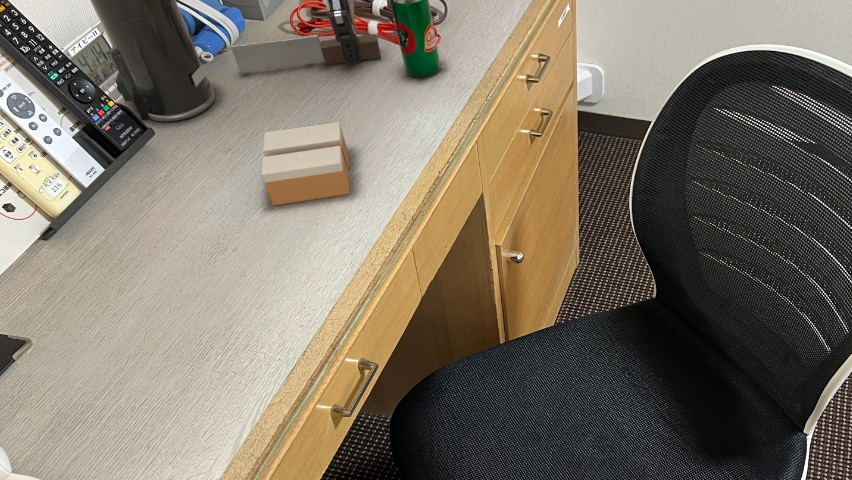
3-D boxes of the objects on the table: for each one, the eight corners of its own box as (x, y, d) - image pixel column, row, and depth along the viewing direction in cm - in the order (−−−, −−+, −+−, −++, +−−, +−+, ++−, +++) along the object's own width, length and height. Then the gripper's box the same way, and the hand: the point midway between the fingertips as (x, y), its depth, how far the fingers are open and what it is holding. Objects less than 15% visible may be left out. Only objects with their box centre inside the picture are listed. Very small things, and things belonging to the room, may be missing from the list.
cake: (274, 181, 101) (262, 150, 98) (275, 163, 103) (264, 132, 100) (349, 170, 102) (339, 139, 99) (348, 152, 105) (339, 121, 101)
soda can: (438, 79, 117) (423, -5, 108) (403, 80, 117) (385, -4, 108) (442, 61, 120) (428, -21, 111) (408, 62, 120) (391, -20, 111)
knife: (240, 75, 118) (230, 49, 115) (240, 68, 119) (231, 42, 116) (381, 57, 121) (375, 31, 118) (380, 50, 122) (374, 24, 119)
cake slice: (273, 205, 98) (261, 174, 94) (274, 188, 100) (262, 156, 97) (350, 193, 99) (340, 162, 96) (349, 176, 101) (340, 145, 98)
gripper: (293, -82, 112) (326, 38, 125) (291, -41, 103) (327, 84, 115) (349, -88, 113) (376, 32, 126) (352, -48, 104) (381, 77, 117)
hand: (353, 57), depth 121 cm, fingers closed on knife, 2 cm apart
